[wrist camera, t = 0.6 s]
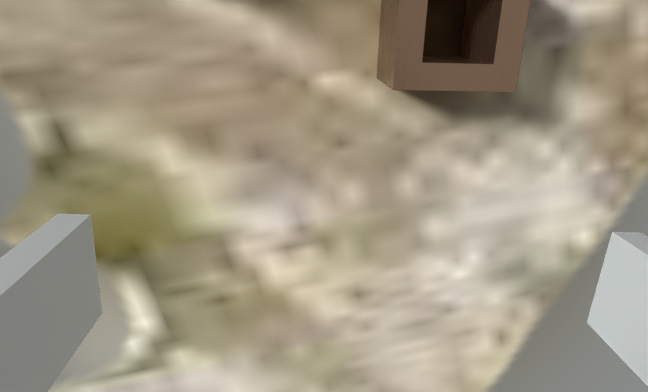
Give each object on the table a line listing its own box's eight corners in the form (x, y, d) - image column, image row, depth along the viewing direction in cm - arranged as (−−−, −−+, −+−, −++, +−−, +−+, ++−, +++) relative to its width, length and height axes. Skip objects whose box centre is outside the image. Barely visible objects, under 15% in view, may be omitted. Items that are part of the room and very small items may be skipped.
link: (383, -37, 30) (403, -51, 24) (493, -33, 30) (537, -46, 24) (376, 78, 32) (392, 89, 26) (478, 80, 32) (515, 92, 27)
